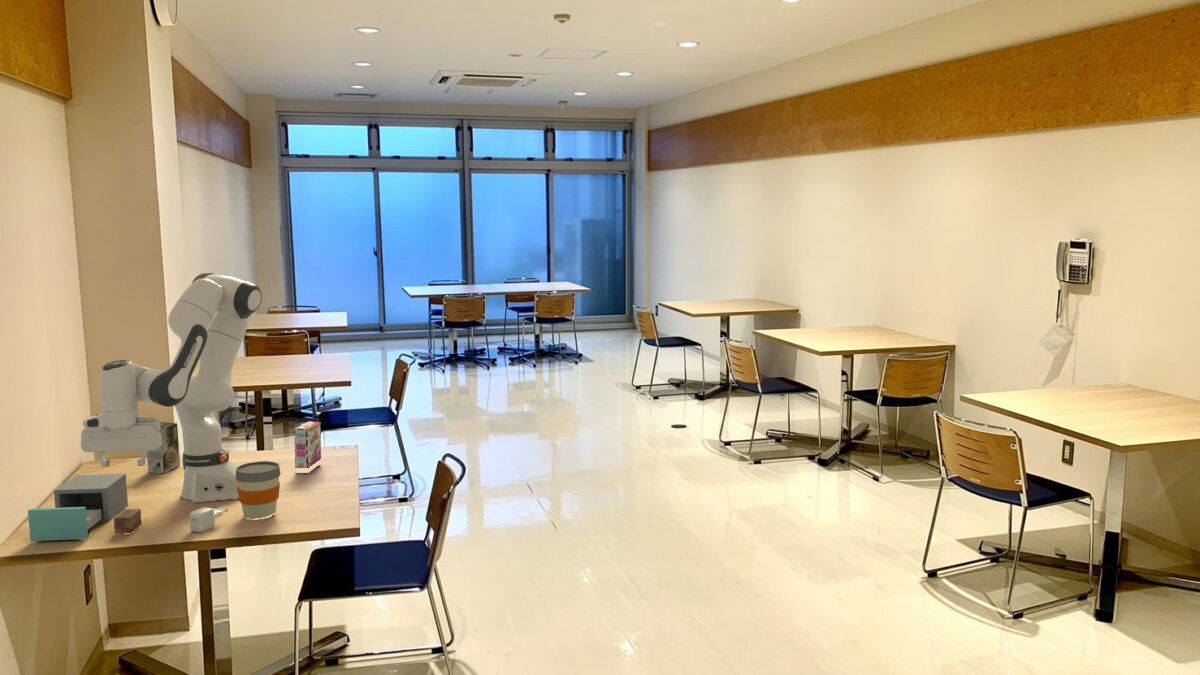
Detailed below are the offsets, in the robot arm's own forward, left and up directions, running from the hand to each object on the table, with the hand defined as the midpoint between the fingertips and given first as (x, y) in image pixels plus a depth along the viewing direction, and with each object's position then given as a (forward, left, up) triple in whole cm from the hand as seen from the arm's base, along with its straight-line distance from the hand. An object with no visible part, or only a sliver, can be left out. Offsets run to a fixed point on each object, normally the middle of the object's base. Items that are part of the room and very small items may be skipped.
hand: (123, 465), depth 232 cm
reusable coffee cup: (-34, -8, -19) cm, 40 cm away
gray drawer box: (+15, -14, -19) cm, 28 cm away
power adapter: (-22, 0, -19) cm, 29 cm away
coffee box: (+10, -58, -19) cm, 62 cm away
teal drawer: (+15, +1, -18) cm, 24 cm away
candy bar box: (-40, -53, -19) cm, 69 cm away
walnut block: (0, 0, -19) cm, 19 cm away
